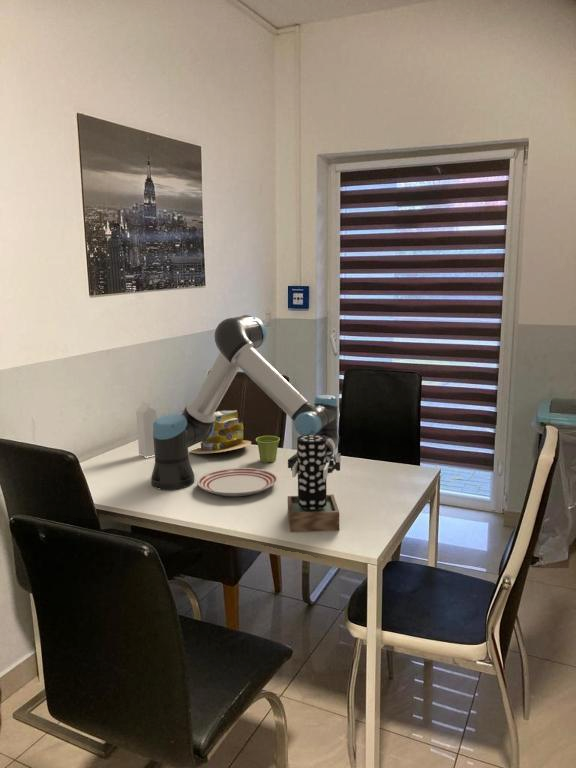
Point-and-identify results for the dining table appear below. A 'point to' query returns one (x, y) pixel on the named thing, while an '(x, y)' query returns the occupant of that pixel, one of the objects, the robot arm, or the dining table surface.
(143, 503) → the dining table surface
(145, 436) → the milk
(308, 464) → the white-spotted black cylinder
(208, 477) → the dinner plate
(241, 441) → the plate of food packages
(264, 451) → the plant pot
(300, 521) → the square wooden tray
